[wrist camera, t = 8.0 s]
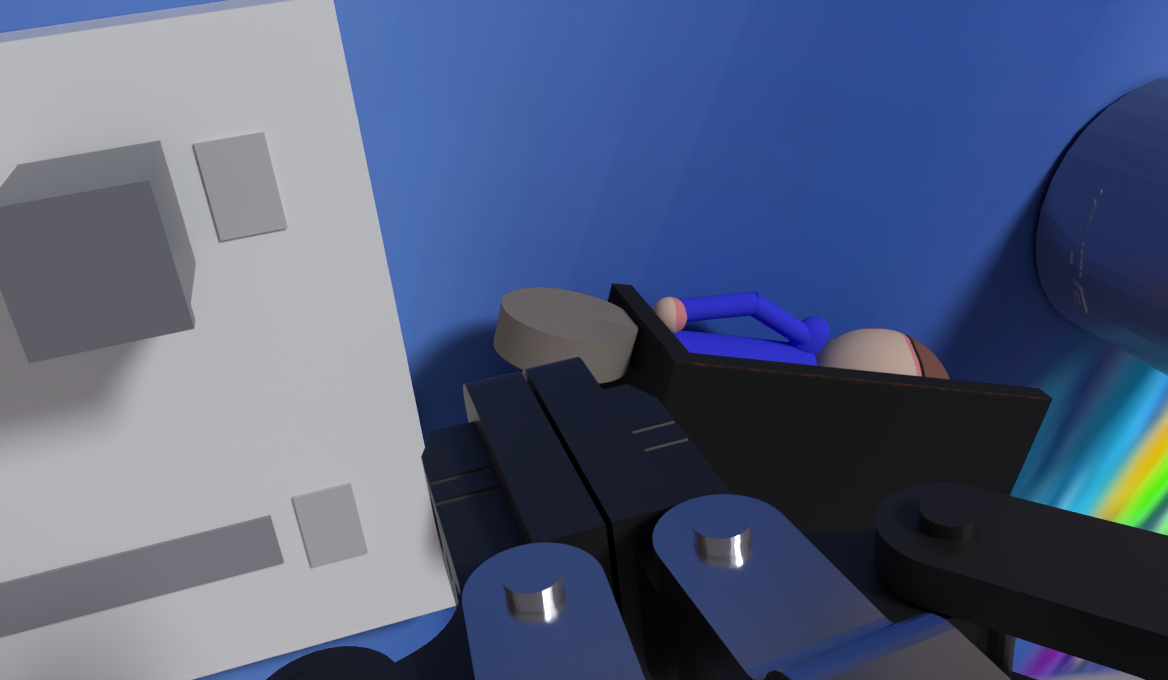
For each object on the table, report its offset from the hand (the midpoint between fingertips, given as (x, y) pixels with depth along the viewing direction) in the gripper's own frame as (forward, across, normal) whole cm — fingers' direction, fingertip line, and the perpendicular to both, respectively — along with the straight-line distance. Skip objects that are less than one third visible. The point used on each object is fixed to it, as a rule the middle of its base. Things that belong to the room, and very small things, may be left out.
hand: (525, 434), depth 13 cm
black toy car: (+16, -8, +9) cm, 21 cm away
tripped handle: (+14, +6, 0) cm, 15 cm away
